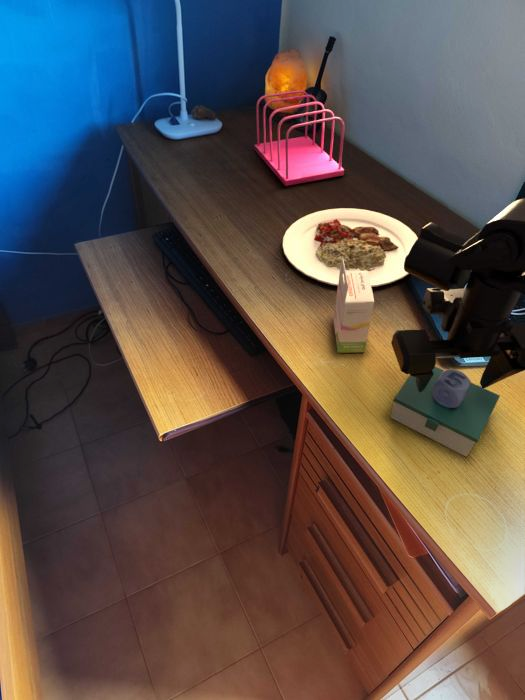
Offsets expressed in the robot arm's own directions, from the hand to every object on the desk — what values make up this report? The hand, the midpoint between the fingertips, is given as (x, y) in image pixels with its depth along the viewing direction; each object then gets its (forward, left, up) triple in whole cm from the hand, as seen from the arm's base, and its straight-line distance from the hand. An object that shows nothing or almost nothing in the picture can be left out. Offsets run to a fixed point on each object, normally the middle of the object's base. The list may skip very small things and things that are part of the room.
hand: (450, 387), depth 67 cm
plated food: (+33, -32, -7) cm, 46 cm away
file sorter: (+67, -62, -7) cm, 91 cm away
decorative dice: (0, 0, -2) cm, 2 cm away
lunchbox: (0, 0, -7) cm, 7 cm away
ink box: (+20, -8, -7) cm, 23 cm away
